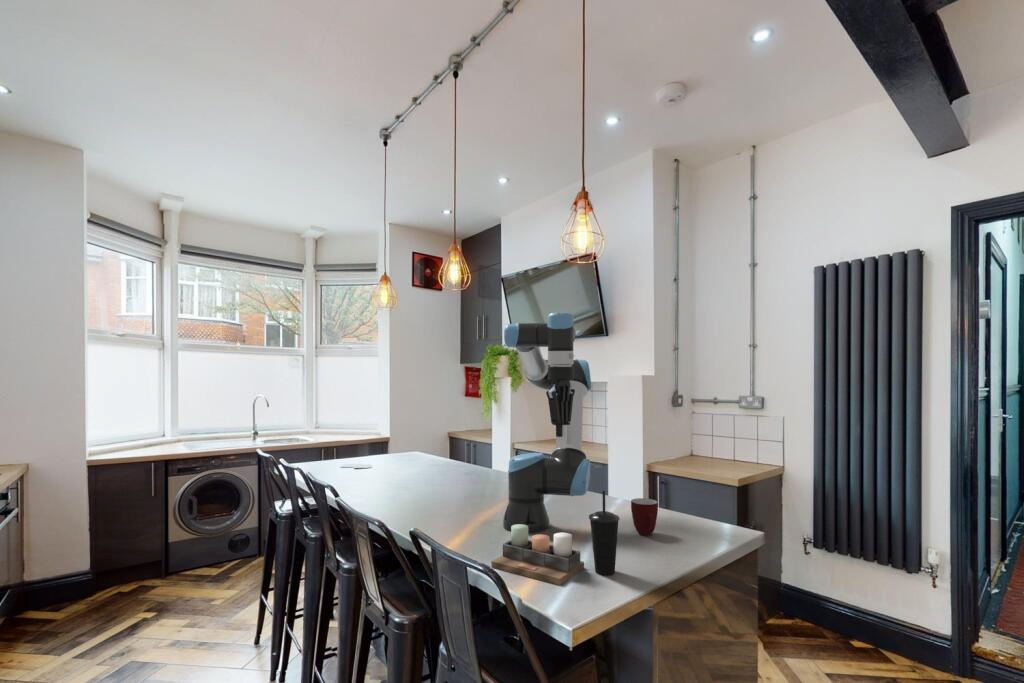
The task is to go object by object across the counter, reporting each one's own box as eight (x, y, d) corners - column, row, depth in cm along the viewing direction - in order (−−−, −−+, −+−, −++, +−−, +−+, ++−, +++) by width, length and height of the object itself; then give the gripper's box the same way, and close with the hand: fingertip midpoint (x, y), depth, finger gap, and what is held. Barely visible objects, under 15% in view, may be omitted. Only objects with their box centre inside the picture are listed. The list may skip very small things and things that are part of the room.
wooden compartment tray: (491, 567, 129) (491, 549, 130) (518, 552, 140) (519, 536, 140) (560, 585, 118) (559, 565, 119) (584, 567, 129) (584, 549, 129)
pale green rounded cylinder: (507, 546, 134) (507, 527, 134) (517, 542, 137) (517, 523, 138) (522, 550, 131) (522, 530, 131) (531, 545, 135) (531, 526, 135)
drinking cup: (586, 566, 130) (585, 487, 131) (615, 565, 130) (614, 487, 132) (593, 578, 122) (592, 494, 124) (624, 577, 123) (623, 494, 124)
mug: (668, 539, 152) (667, 505, 152) (644, 541, 149) (643, 507, 150) (649, 529, 162) (648, 497, 162) (626, 531, 159) (626, 499, 160)
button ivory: (550, 556, 126) (550, 536, 127) (559, 551, 130) (559, 531, 131) (566, 560, 124) (566, 539, 124) (575, 554, 128) (574, 534, 128)
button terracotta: (528, 557, 130) (528, 538, 130) (537, 552, 134) (537, 533, 134) (543, 561, 127) (543, 541, 128) (552, 556, 131) (552, 536, 132)
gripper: (560, 366, 138) (561, 452, 137) (582, 365, 149) (583, 445, 148) (537, 366, 143) (538, 449, 142) (560, 365, 153) (561, 443, 152)
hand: (561, 447), depth 145 cm, fingers closed
